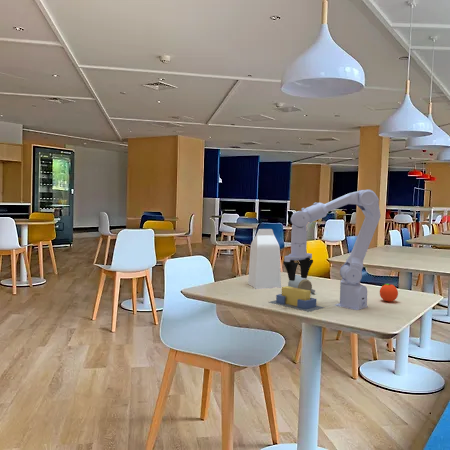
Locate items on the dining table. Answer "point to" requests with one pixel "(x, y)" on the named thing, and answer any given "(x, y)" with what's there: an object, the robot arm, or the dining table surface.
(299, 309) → the mat
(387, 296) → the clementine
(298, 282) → the ceramic mug
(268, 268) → the milk
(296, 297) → the slat
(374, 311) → the dining table surface
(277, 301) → the end cap
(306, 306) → the end cap
